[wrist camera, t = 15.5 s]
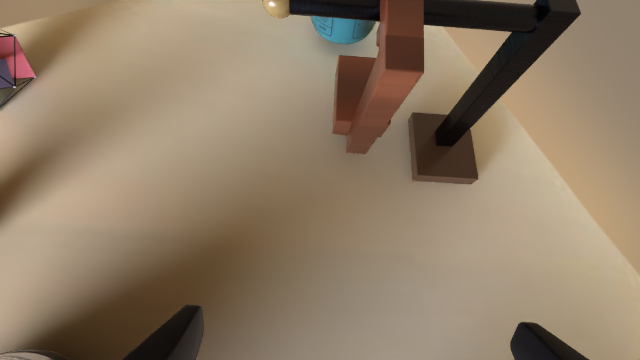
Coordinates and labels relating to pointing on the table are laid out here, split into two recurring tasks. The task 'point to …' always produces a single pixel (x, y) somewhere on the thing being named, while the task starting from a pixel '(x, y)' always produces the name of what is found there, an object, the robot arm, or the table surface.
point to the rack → (494, 80)
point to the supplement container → (32, 355)
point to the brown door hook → (379, 76)
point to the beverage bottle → (342, 29)
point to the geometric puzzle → (12, 63)
